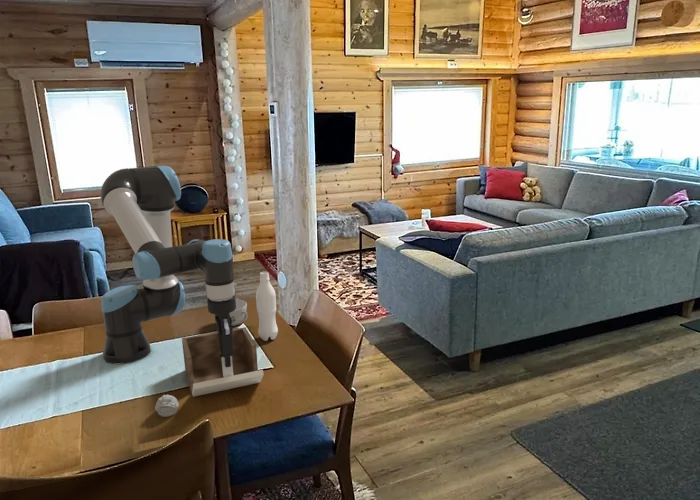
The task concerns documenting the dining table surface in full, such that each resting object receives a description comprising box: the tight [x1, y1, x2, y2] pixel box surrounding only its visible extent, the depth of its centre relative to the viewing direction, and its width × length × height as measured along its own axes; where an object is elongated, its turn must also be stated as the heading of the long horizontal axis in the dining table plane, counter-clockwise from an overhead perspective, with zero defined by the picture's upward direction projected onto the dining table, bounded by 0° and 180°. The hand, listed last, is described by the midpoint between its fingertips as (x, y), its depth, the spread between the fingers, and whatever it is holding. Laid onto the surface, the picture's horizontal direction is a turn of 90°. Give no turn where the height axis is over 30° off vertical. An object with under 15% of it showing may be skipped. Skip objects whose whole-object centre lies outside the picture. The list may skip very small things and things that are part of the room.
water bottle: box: [255, 271, 279, 342], centre depth 192 cm, size 7×7×25 cm
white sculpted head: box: [154, 394, 180, 418], centre depth 144 cm, size 6×7×7 cm
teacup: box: [229, 298, 248, 327], centre depth 207 cm, size 15×12×8 cm
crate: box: [181, 327, 259, 394], centre depth 164 cm, size 20×15×12 cm
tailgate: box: [191, 369, 265, 398], centre depth 153 cm, size 19×2×11 cm
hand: (228, 375), depth 150 cm, fingers closed
